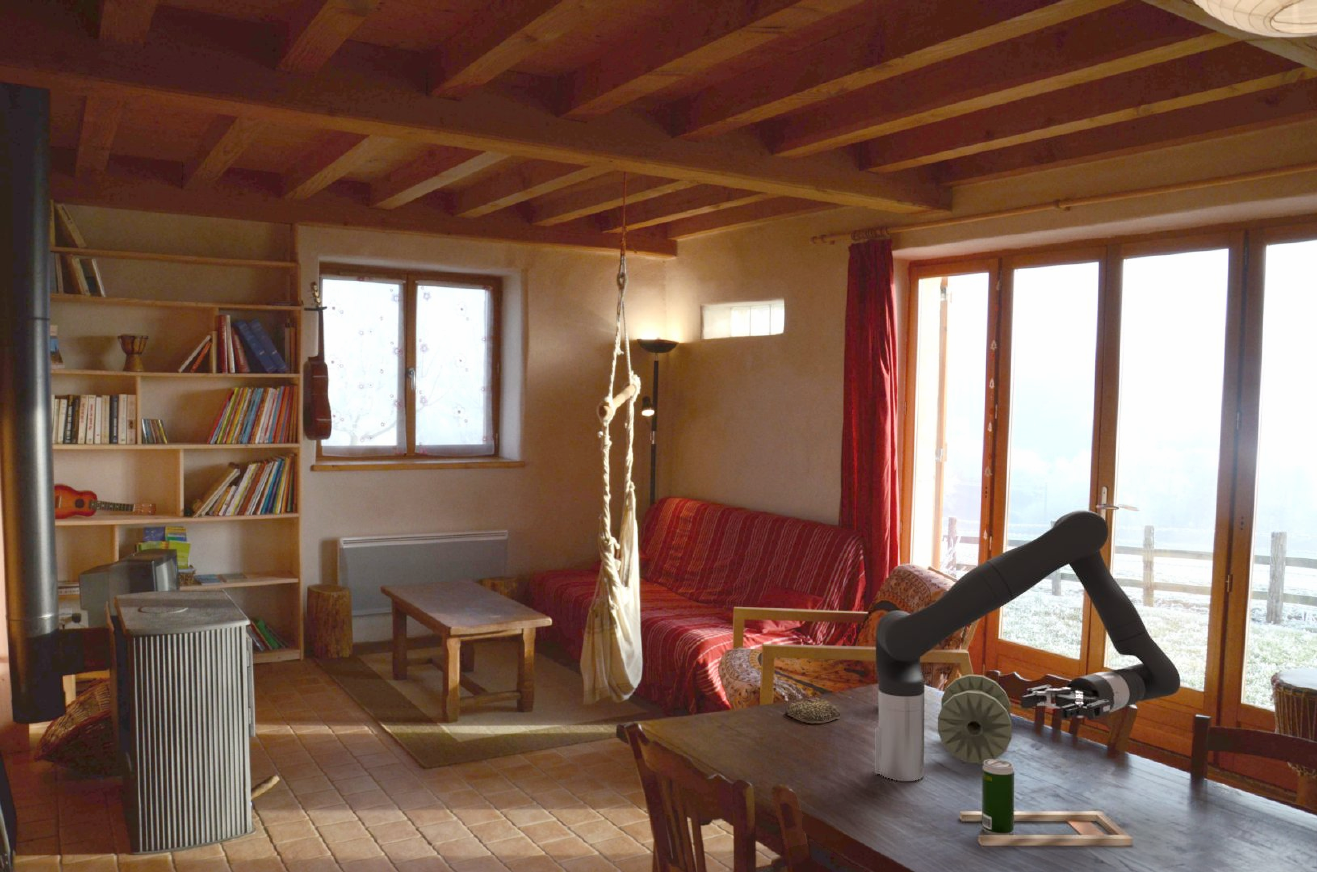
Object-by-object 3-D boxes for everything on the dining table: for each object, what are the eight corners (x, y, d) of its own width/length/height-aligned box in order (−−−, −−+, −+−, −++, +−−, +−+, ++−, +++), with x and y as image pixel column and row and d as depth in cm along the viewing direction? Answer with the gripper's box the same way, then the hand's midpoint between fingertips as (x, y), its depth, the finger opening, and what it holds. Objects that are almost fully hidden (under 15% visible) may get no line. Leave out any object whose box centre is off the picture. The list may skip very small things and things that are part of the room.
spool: (1011, 767, 210) (1011, 696, 210) (937, 759, 214) (938, 689, 214) (1010, 743, 225) (1010, 677, 225) (941, 736, 230) (941, 672, 230)
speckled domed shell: (805, 727, 238) (805, 706, 238) (779, 713, 249) (779, 694, 249) (850, 721, 243) (850, 701, 243) (822, 708, 254) (822, 688, 254)
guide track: (981, 845, 170) (981, 838, 170) (959, 817, 182) (959, 811, 182) (1132, 845, 170) (1132, 838, 170) (1100, 817, 182) (1101, 811, 182)
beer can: (1000, 839, 172) (1001, 770, 172) (975, 829, 177) (975, 762, 177) (1020, 833, 175) (1020, 765, 175) (994, 822, 180) (995, 756, 180)
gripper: (1065, 666, 196) (1009, 679, 188) (1131, 682, 184) (1074, 696, 175) (1066, 704, 196) (1010, 719, 188) (1132, 722, 184) (1075, 738, 175)
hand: (1041, 708), depth 182 cm, fingers open, 8 cm apart
